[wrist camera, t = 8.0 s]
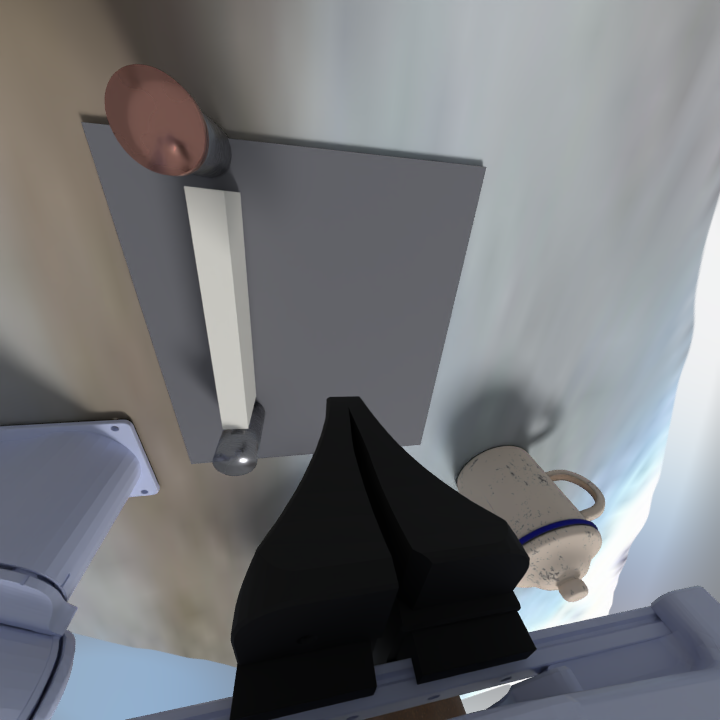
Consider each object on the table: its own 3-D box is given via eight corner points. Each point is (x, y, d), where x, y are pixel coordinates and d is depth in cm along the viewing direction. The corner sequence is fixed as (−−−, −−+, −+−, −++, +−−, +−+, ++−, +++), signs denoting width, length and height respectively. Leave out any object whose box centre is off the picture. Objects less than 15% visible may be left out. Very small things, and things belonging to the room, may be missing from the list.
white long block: (256, 395, 21) (248, 428, 18) (234, 395, 21) (222, 429, 18) (240, 192, 15) (224, 191, 12) (208, 188, 14) (183, 186, 11)
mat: (192, 460, 24) (191, 463, 23) (86, 123, 13) (81, 121, 13) (419, 442, 27) (420, 444, 27) (483, 167, 16) (486, 166, 16)
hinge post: (233, 424, 22) (216, 477, 18) (228, 397, 21) (208, 448, 17) (267, 422, 23) (258, 473, 19) (264, 396, 22) (254, 445, 17)
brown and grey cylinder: (182, 180, 14) (122, 171, 10) (168, 108, 13) (89, 56, 8) (240, 185, 15) (211, 179, 10) (232, 116, 14) (194, 72, 9)
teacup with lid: (460, 507, 34) (524, 634, 24) (446, 462, 29) (519, 597, 20) (554, 470, 34) (659, 584, 24) (555, 419, 29) (686, 535, 19)
